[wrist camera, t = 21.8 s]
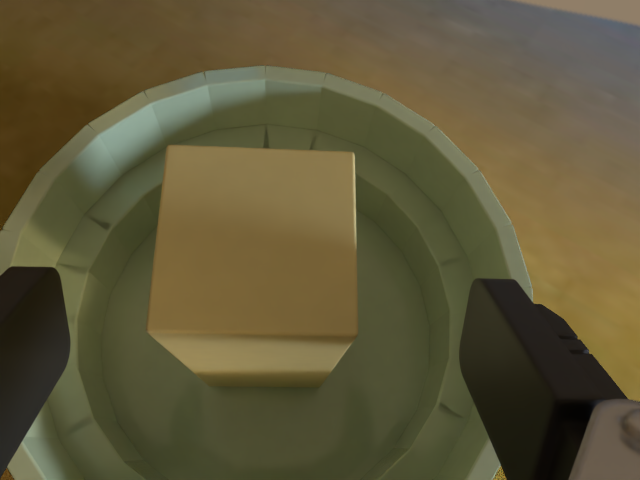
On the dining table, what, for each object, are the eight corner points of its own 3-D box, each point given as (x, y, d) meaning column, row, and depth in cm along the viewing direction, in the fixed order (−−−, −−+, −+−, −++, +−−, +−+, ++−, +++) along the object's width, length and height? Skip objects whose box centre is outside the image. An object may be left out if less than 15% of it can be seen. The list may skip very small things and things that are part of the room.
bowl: (416, 136, 24) (457, 45, 19) (515, 512, 19) (611, 539, 14) (58, 179, 23) (-15, 90, 17) (64, 607, 18) (-36, 683, 12)
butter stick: (321, 280, 21) (354, 150, 12) (320, 387, 20) (359, 336, 11) (215, 277, 21) (166, 142, 12) (207, 386, 20) (144, 332, 10)
